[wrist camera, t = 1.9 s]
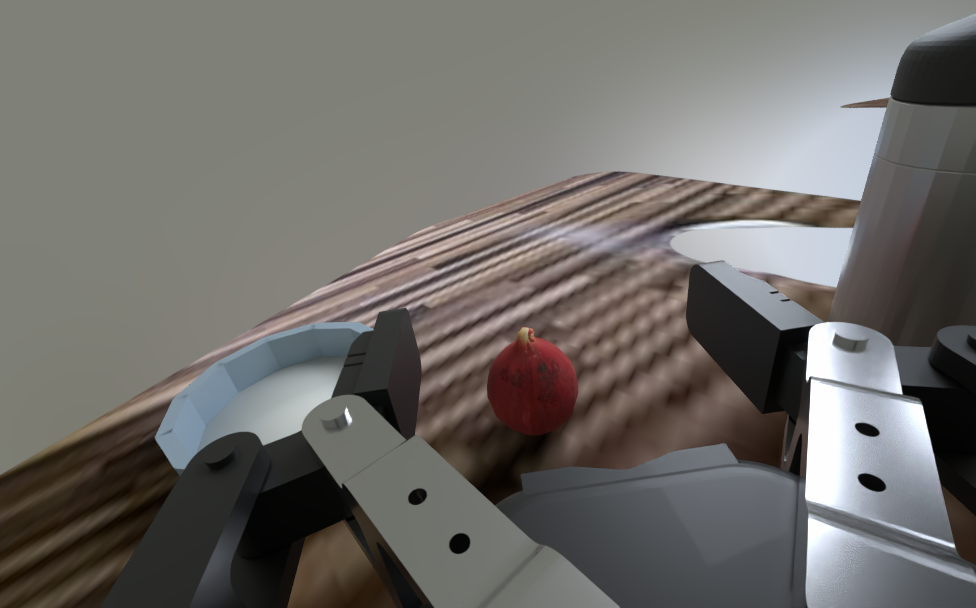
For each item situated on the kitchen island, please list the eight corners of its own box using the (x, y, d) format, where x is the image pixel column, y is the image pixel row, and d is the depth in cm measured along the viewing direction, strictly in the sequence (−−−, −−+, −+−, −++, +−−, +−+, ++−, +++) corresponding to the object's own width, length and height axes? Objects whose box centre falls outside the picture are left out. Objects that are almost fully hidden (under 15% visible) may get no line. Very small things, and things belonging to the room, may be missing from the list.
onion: (596, 444, 28) (593, 342, 24) (512, 475, 27) (495, 373, 23) (556, 390, 33) (549, 298, 29) (484, 414, 32) (466, 322, 28)
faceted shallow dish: (390, 340, 43) (379, 304, 41) (421, 458, 29) (407, 414, 27) (214, 392, 39) (193, 356, 37) (156, 555, 26) (119, 511, 24)
